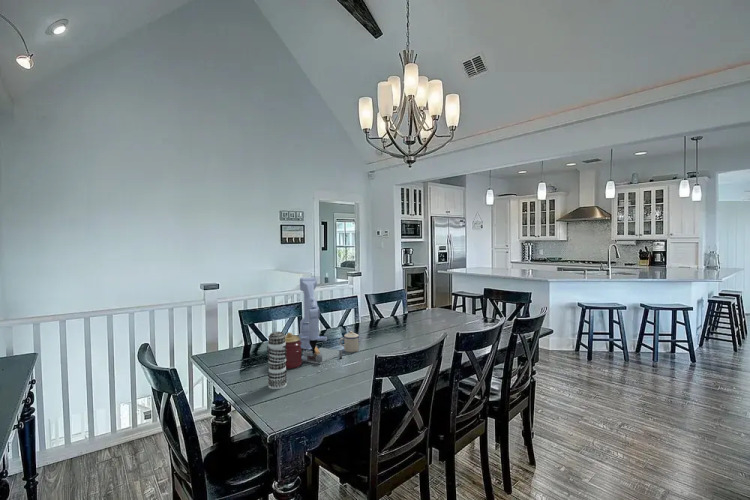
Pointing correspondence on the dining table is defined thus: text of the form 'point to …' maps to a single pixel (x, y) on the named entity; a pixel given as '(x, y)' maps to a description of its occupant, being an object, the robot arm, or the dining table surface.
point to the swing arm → (318, 355)
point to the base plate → (326, 355)
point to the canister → (293, 351)
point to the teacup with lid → (350, 342)
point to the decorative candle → (277, 360)
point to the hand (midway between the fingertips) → (313, 353)
